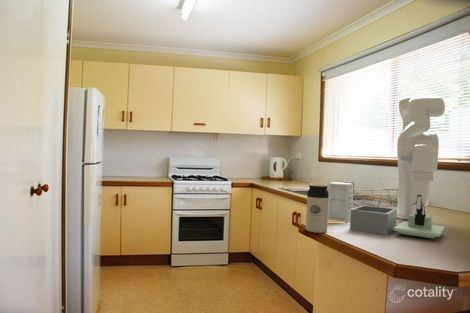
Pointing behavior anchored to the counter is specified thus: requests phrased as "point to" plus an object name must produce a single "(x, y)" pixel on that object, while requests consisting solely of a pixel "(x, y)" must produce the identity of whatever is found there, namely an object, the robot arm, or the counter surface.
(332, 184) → the supplement box
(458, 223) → the counter surface
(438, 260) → the counter surface
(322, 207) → the travel mug
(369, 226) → the tub
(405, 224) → the lid
